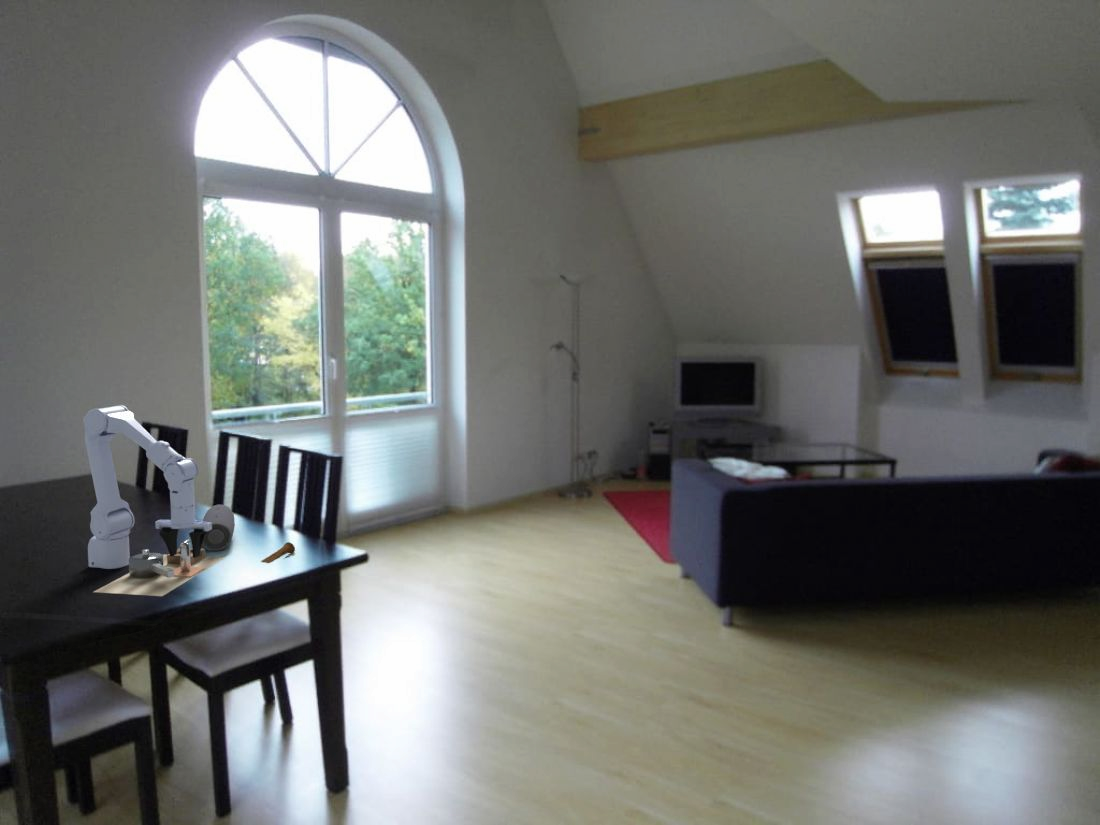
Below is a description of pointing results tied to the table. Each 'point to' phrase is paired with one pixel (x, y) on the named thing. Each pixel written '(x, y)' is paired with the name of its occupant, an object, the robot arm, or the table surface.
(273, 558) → the primitive tool
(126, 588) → the board
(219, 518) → the bluetooth speaker
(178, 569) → the tile
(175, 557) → the socket block
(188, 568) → the key peg
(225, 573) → the table surface
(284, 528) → the table surface
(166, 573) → the grey cylinder with handle
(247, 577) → the table surface
